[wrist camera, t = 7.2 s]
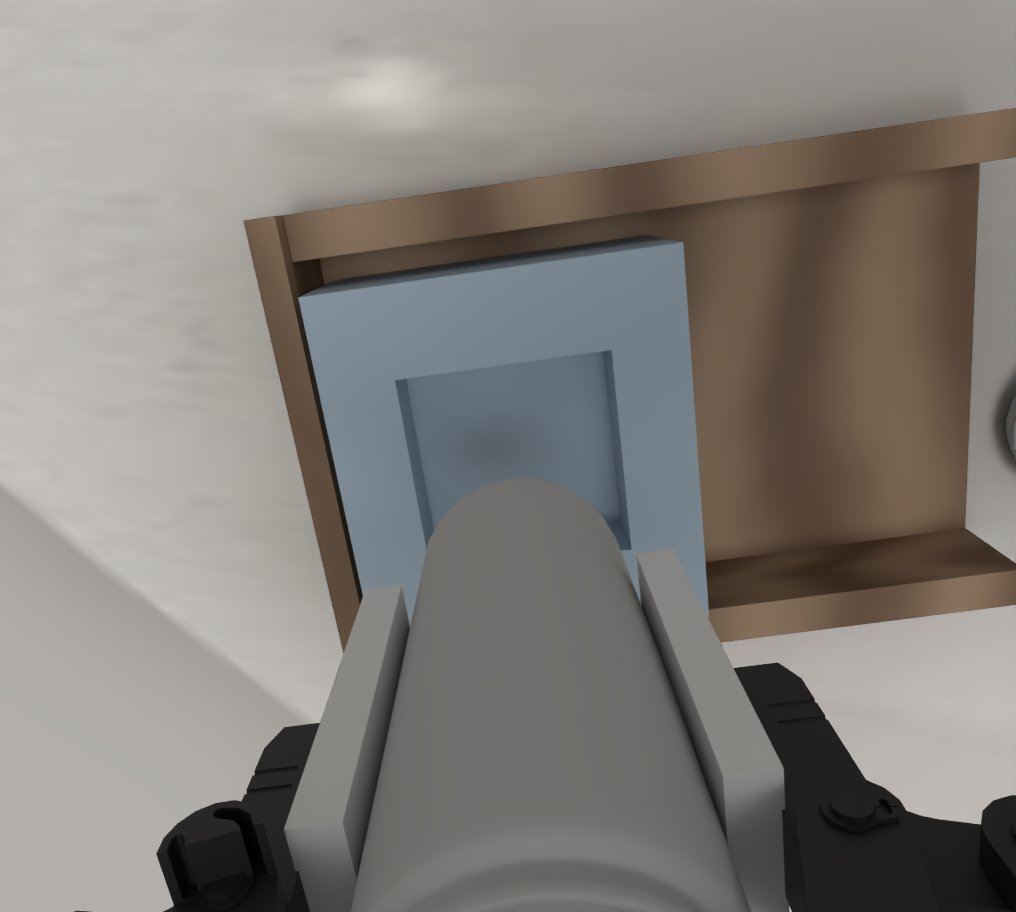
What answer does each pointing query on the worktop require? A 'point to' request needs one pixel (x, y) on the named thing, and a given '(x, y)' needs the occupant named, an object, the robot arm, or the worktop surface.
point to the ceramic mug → (1012, 427)
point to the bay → (742, 354)
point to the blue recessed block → (512, 396)
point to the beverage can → (537, 731)
